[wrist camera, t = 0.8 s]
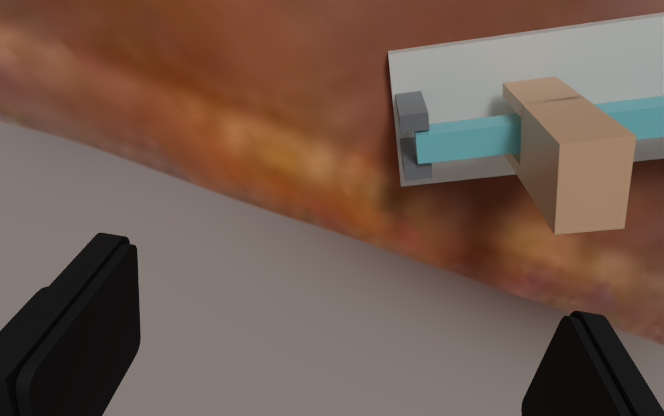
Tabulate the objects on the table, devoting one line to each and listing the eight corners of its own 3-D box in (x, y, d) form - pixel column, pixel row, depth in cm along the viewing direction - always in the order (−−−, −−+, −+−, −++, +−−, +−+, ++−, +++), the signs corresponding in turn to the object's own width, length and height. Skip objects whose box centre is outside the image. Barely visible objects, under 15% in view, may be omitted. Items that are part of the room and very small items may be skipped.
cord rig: (809, -9, 29) (929, 6, 23) (770, 140, 33) (863, 186, 27) (387, 51, 32) (392, 78, 26) (400, 180, 36) (406, 230, 30)
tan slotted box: (555, 76, 30) (636, 135, 21) (551, 146, 32) (624, 228, 23) (502, 82, 30) (560, 144, 21) (502, 151, 32) (554, 234, 23)
